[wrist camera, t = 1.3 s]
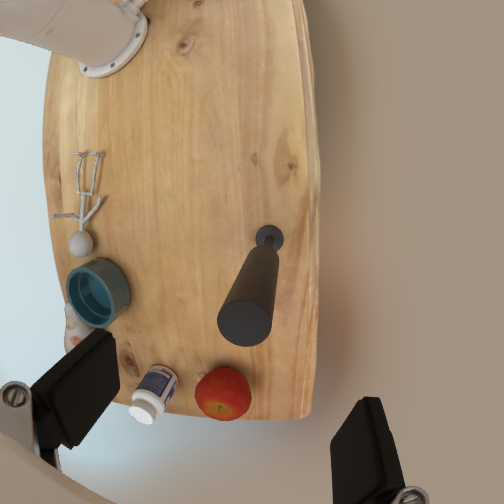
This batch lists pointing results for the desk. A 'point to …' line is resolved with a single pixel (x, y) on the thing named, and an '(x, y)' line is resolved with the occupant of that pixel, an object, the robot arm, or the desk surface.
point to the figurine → (82, 214)
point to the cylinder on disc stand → (253, 293)
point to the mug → (74, 329)
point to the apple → (223, 394)
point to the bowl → (98, 292)
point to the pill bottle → (153, 394)
